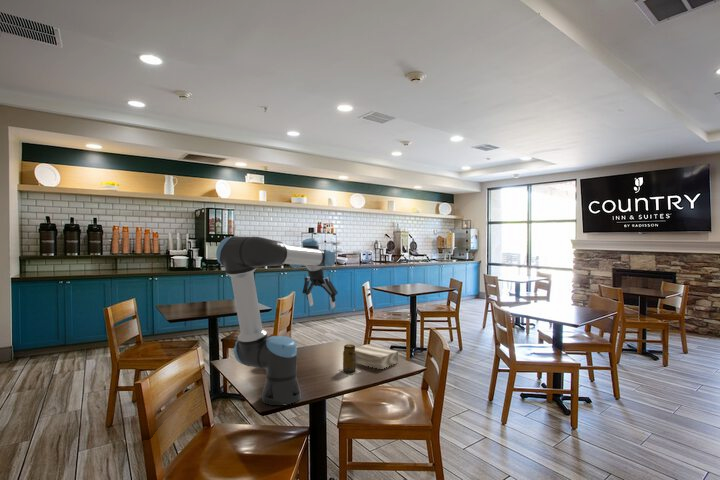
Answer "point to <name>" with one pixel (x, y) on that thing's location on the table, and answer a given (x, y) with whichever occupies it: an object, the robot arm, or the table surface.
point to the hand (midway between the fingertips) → (322, 306)
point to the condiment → (349, 360)
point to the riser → (376, 356)
